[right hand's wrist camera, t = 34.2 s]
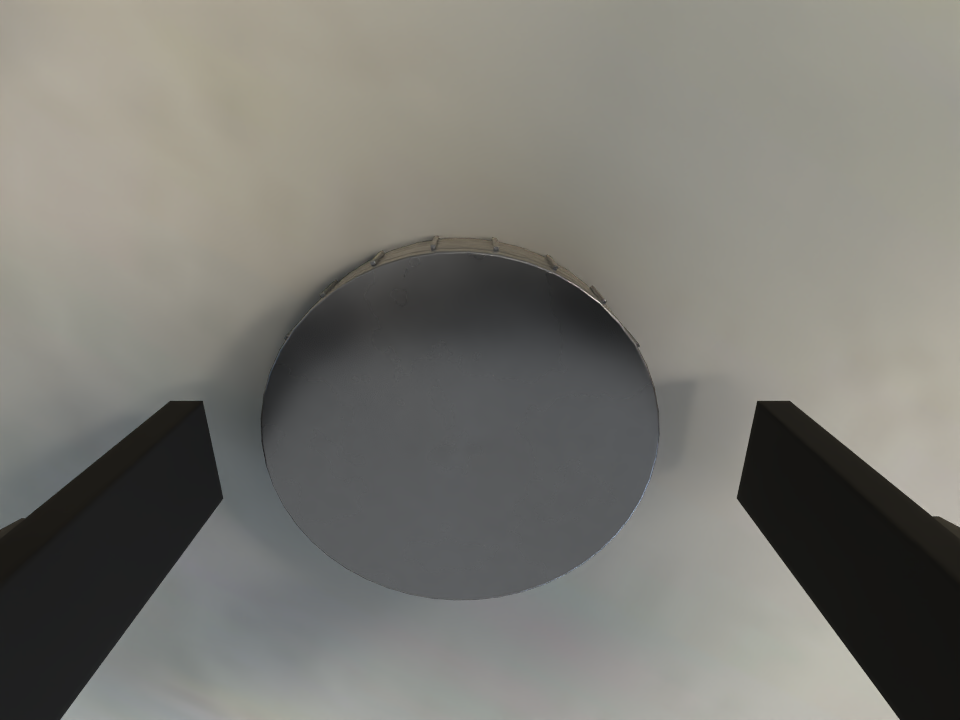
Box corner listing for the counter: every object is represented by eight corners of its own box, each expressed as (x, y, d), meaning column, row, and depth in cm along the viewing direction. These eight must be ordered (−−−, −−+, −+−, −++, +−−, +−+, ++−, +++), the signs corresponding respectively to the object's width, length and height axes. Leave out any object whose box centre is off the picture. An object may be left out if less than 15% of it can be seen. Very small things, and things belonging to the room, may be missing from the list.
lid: (322, 180, 12) (299, 185, 10) (702, 304, 13) (735, 327, 12) (255, 510, 15) (229, 553, 14) (564, 586, 17) (574, 635, 15)
